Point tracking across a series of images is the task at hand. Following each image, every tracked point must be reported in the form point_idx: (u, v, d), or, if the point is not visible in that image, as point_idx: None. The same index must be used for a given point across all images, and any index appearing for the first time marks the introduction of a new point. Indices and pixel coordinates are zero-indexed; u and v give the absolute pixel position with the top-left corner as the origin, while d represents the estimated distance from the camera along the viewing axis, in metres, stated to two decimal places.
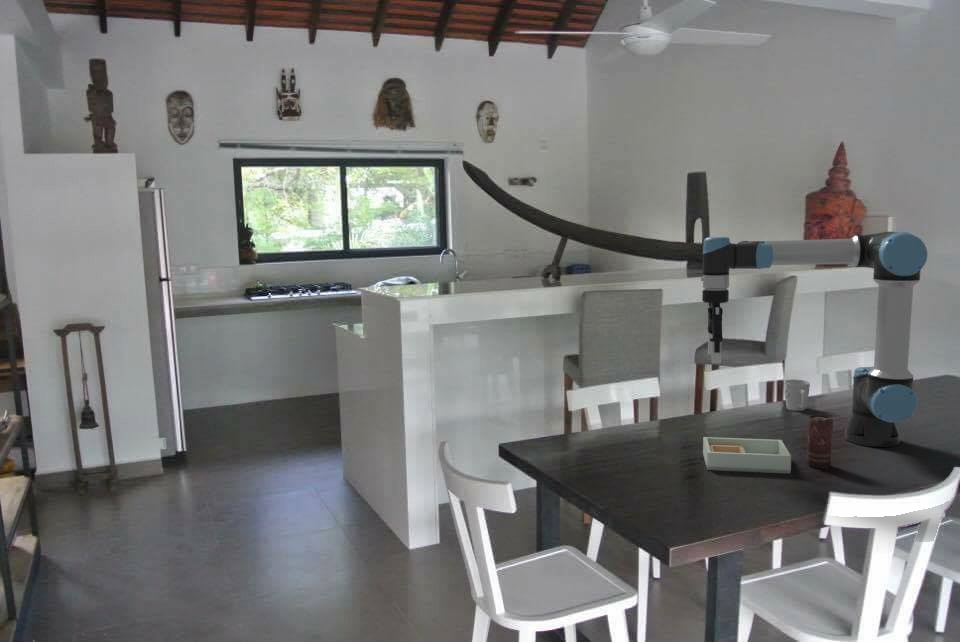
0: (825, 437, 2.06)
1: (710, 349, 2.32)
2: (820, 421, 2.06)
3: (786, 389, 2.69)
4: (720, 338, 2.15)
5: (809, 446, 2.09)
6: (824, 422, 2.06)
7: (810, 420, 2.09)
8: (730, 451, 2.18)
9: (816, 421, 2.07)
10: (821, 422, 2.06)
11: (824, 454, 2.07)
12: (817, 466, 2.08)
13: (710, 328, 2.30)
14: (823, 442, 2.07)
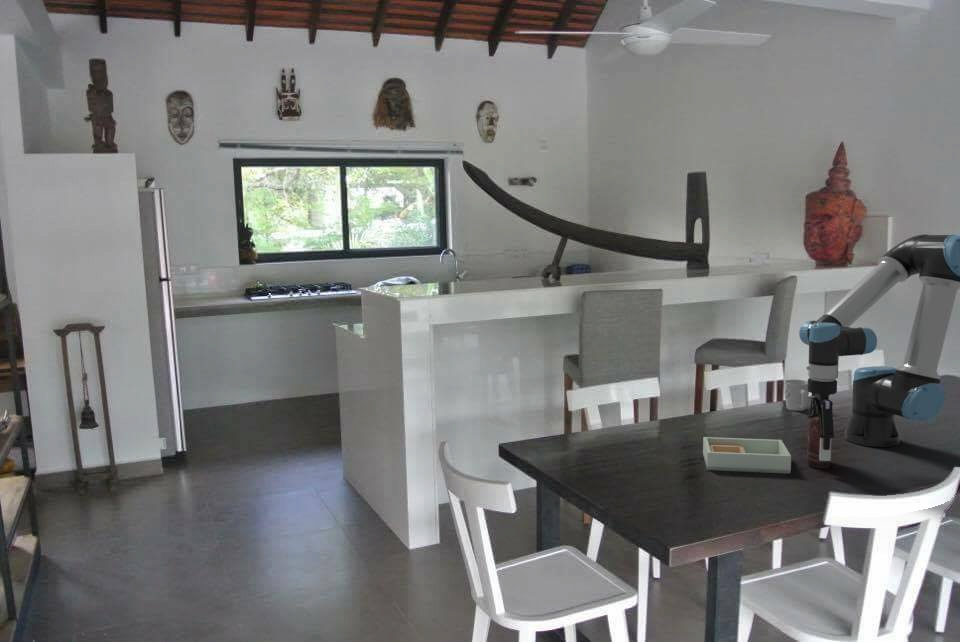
0: None
1: None
2: None
3: (786, 389, 2.69)
4: (831, 435, 1.99)
5: (809, 446, 2.09)
6: None
7: (810, 420, 2.09)
8: (730, 451, 2.18)
9: (816, 421, 2.07)
10: None
11: None
12: (817, 466, 2.08)
13: None
14: None
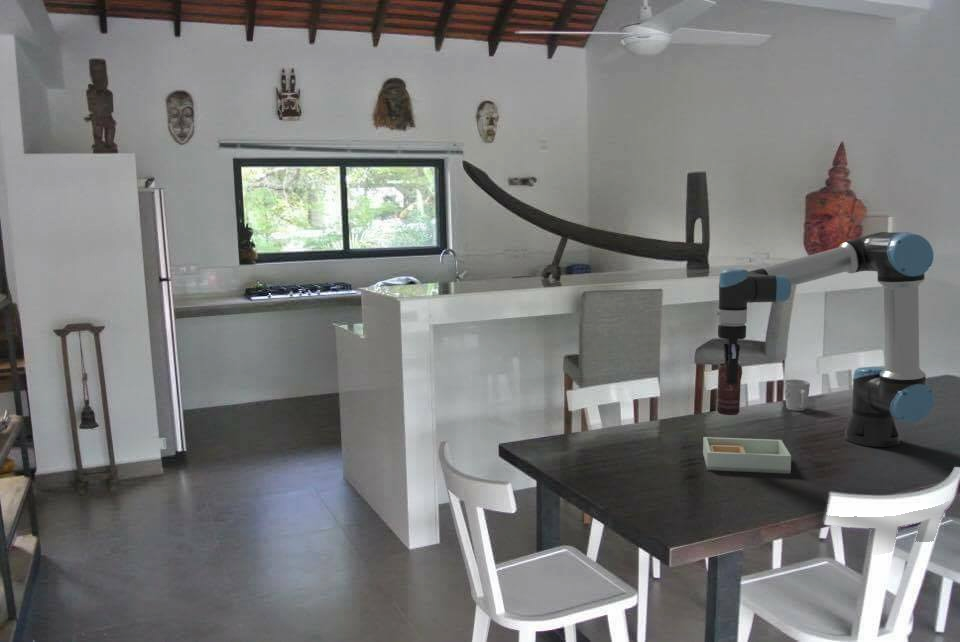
0: None
1: None
2: None
3: (786, 389, 2.69)
4: (734, 382, 2.08)
5: (718, 393, 2.12)
6: None
7: (720, 367, 2.11)
8: (730, 451, 2.18)
9: (725, 367, 2.09)
10: None
11: (732, 400, 2.09)
12: (725, 412, 2.10)
13: None
14: (731, 388, 2.09)
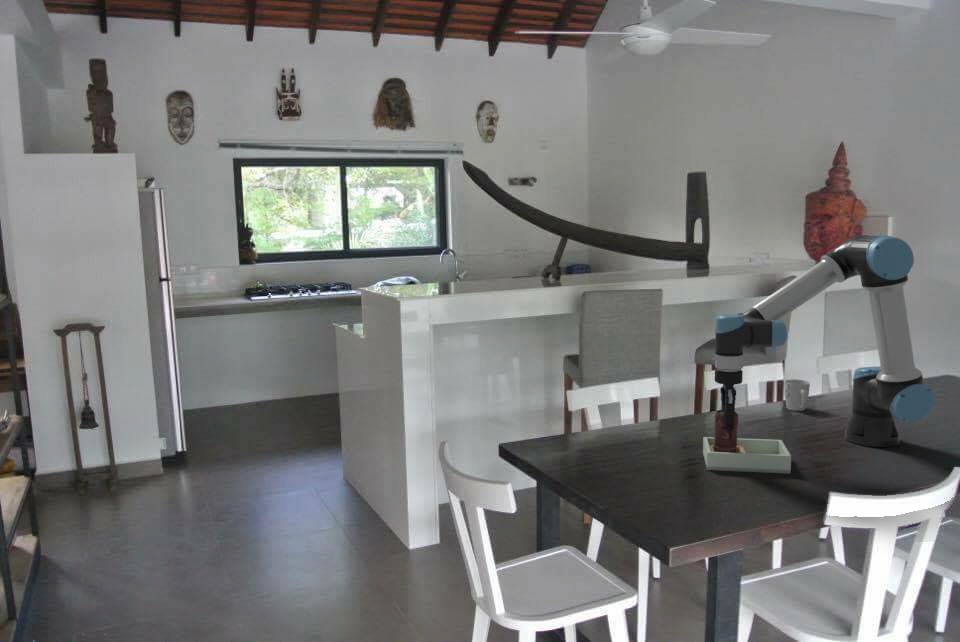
0: None
1: None
2: None
3: (786, 389, 2.69)
4: (732, 428, 2.09)
5: (715, 440, 2.14)
6: None
7: (716, 414, 2.13)
8: None
9: (721, 415, 2.11)
10: None
11: (729, 447, 2.12)
12: None
13: None
14: (727, 436, 2.11)
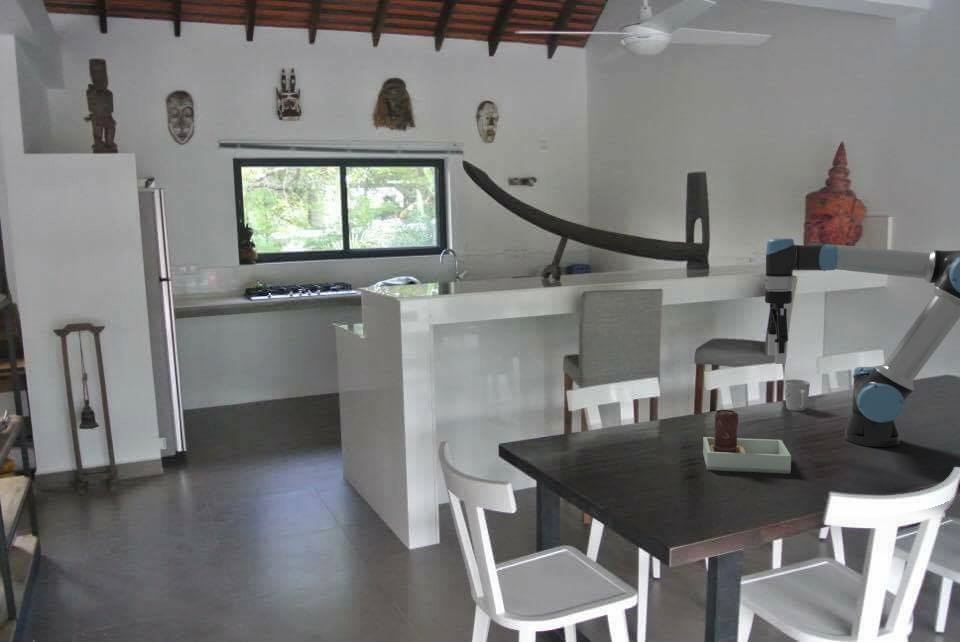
0: (729, 431, 2.11)
1: (770, 350, 2.33)
2: (725, 415, 2.11)
3: (786, 389, 2.69)
4: (785, 339, 2.16)
5: (715, 440, 2.14)
6: (728, 416, 2.11)
7: (716, 414, 2.13)
8: None
9: (721, 415, 2.11)
10: (725, 416, 2.11)
11: (729, 447, 2.12)
12: None
13: (771, 329, 2.32)
14: (727, 436, 2.11)
